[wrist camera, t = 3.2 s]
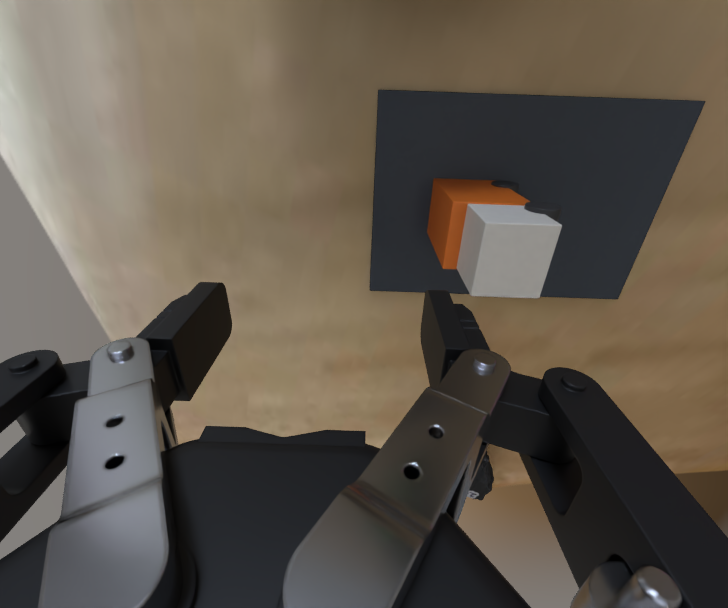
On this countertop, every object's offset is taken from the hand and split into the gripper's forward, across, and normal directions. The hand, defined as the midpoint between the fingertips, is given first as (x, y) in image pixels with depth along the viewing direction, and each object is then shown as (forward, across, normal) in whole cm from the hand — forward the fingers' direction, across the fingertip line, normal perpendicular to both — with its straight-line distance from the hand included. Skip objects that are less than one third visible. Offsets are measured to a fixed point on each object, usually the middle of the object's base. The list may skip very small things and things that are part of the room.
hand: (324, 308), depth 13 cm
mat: (+22, -15, +1) cm, 27 cm away
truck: (+22, -10, +2) cm, 24 cm away
